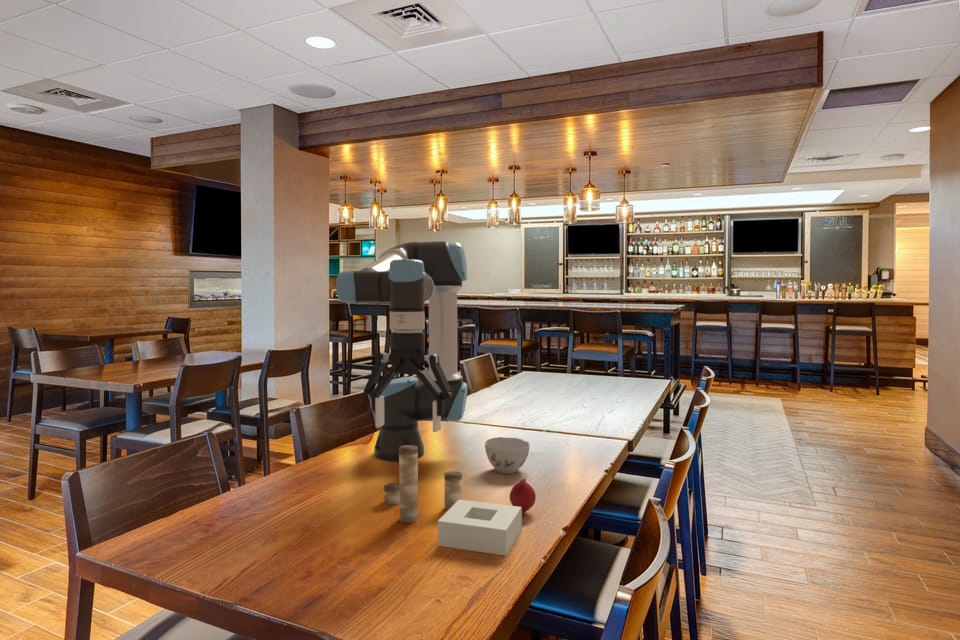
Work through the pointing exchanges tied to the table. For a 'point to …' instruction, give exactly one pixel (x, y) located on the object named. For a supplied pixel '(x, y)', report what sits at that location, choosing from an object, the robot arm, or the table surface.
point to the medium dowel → (452, 488)
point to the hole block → (480, 527)
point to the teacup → (507, 453)
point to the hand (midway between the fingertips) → (407, 428)
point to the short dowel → (392, 493)
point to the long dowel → (408, 483)
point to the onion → (522, 495)
